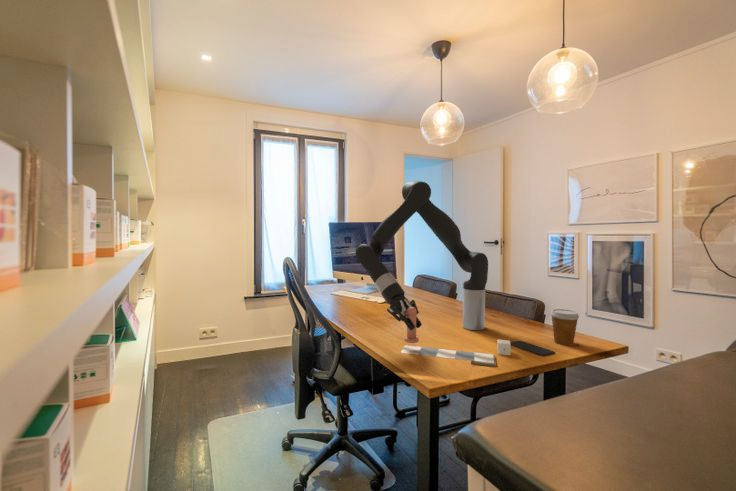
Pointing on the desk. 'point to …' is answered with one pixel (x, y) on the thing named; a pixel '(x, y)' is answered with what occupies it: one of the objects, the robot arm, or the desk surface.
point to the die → (503, 347)
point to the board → (453, 355)
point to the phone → (532, 348)
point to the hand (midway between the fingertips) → (416, 327)
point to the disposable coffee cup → (564, 325)
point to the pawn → (412, 333)
